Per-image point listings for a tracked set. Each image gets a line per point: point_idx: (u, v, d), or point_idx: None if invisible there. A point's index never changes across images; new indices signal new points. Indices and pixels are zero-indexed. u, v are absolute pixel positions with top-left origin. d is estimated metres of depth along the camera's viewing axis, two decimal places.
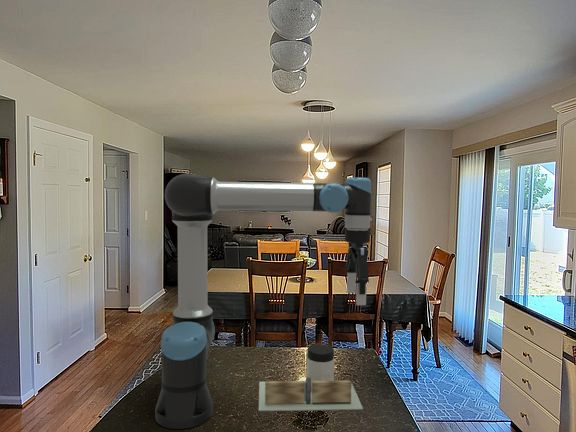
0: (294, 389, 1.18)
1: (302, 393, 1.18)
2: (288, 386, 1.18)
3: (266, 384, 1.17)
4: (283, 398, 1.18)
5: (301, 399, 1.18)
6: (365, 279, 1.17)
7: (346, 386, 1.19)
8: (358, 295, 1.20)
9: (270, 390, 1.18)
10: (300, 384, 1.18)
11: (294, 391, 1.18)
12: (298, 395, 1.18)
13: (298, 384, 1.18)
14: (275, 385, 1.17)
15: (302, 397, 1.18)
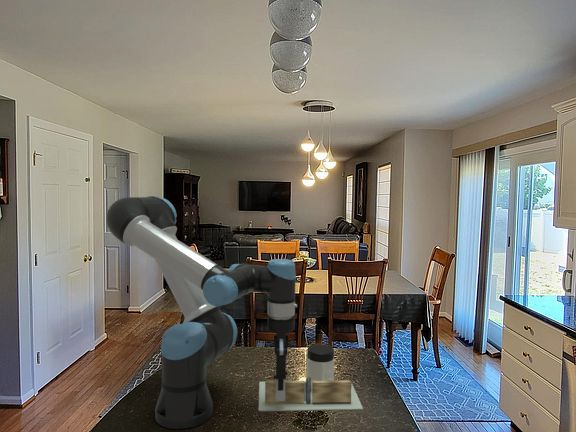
0: (294, 388, 1.18)
1: (302, 393, 1.18)
2: (288, 386, 1.18)
3: (266, 383, 1.18)
4: None
5: (301, 399, 1.18)
6: (282, 378, 1.12)
7: (346, 386, 1.19)
8: (276, 391, 1.15)
9: (270, 389, 1.18)
10: (300, 384, 1.18)
11: (294, 391, 1.18)
12: (298, 395, 1.18)
13: (298, 384, 1.18)
14: (275, 384, 1.18)
15: (302, 396, 1.18)
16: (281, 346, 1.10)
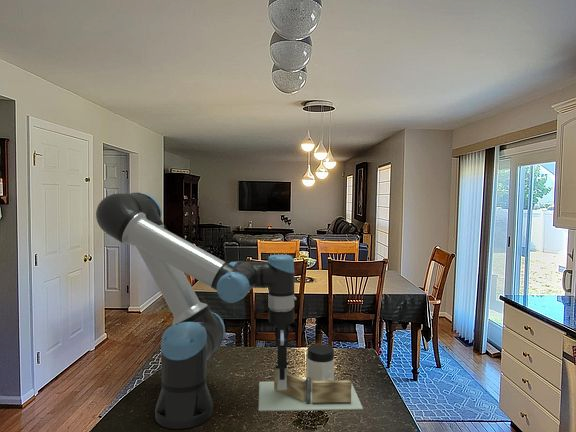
0: (295, 384, 1.21)
1: (302, 391, 1.19)
2: (290, 379, 1.22)
3: (275, 371, 1.25)
4: (287, 390, 1.23)
5: (301, 397, 1.20)
6: (283, 367, 1.18)
7: (346, 386, 1.19)
8: (278, 380, 1.21)
9: None
10: (300, 381, 1.20)
11: (296, 387, 1.21)
12: (299, 392, 1.20)
13: (298, 381, 1.20)
14: None
15: (302, 394, 1.19)
16: (282, 337, 1.16)
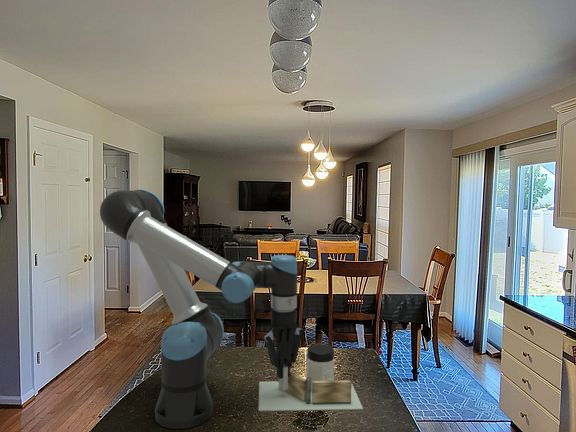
0: (297, 383, 1.21)
1: (302, 390, 1.20)
2: (292, 378, 1.22)
3: None
4: (289, 388, 1.24)
5: (301, 396, 1.20)
6: (273, 365, 1.20)
7: (346, 386, 1.19)
8: (279, 377, 1.23)
9: None
10: (301, 381, 1.20)
11: (297, 386, 1.21)
12: (300, 391, 1.20)
13: (299, 380, 1.20)
14: None
15: (302, 394, 1.20)
16: (268, 334, 1.19)
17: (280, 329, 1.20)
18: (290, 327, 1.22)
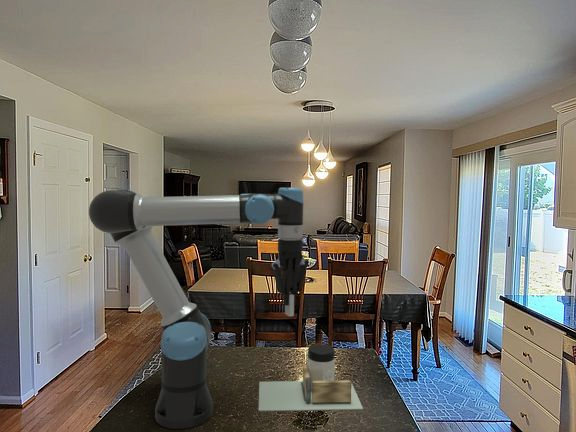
0: None
1: (305, 389, 1.21)
2: (304, 375, 1.24)
3: (303, 365, 1.30)
4: None
5: (305, 395, 1.21)
6: (280, 291, 1.25)
7: (346, 386, 1.19)
8: (285, 305, 1.28)
9: (303, 372, 1.29)
10: (305, 379, 1.21)
11: None
12: (305, 389, 1.22)
13: (305, 378, 1.21)
14: (303, 369, 1.28)
15: (305, 393, 1.20)
16: (275, 261, 1.24)
17: (287, 257, 1.25)
18: (296, 256, 1.27)
